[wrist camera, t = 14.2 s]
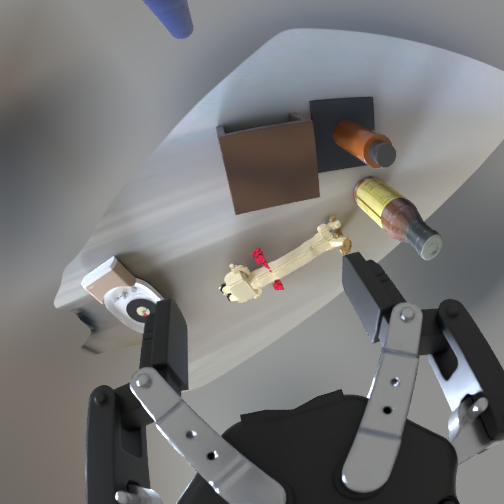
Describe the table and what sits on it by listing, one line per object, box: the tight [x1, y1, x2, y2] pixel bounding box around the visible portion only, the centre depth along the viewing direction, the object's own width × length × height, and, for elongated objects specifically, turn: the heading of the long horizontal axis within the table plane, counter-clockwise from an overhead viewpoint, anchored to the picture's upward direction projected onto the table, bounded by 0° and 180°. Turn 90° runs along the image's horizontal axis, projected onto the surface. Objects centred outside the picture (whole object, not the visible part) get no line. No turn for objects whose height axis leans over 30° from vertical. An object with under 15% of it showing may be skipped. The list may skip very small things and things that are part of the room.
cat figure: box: [218, 215, 352, 303], centre depth 51 cm, size 10×9×25 cm
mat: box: [310, 97, 375, 173], centre depth 42 cm, size 12×11×1 cm
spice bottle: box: [333, 120, 396, 168], centre depth 37 cm, size 5×5×12 cm
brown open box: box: [216, 113, 320, 215], centre depth 39 cm, size 11×12×8 cm
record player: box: [82, 256, 164, 333], centre depth 54 cm, size 12×3×20 cm
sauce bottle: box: [354, 177, 443, 260], centre depth 41 cm, size 6×6×20 cm
